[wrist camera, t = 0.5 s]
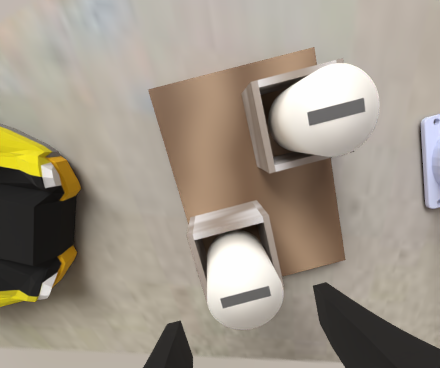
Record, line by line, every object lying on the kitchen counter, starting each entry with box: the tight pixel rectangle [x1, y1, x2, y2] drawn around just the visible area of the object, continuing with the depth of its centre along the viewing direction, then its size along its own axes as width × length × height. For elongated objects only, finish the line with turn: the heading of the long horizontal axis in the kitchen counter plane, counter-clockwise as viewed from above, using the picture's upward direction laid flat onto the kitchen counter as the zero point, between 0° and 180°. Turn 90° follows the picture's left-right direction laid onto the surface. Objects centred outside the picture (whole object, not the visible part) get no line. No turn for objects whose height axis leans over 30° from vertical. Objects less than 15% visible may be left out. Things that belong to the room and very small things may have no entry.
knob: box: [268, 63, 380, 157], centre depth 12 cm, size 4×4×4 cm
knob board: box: [148, 47, 354, 305], centre depth 17 cm, size 12×17×5 cm
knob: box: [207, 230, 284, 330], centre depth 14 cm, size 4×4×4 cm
